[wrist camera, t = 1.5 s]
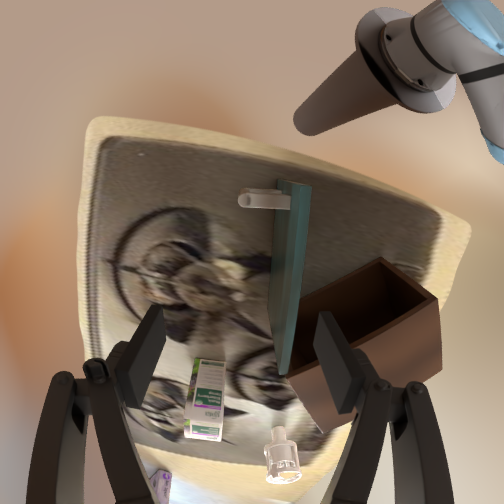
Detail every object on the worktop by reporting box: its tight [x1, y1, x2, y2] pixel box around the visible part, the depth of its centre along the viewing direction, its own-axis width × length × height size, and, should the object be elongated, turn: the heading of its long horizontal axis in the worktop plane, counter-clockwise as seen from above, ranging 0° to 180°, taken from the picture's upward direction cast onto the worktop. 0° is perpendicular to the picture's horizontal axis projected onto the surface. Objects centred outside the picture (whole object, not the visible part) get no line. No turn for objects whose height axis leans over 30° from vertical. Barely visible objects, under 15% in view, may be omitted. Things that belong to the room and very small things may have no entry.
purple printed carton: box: [150, 469, 172, 504], centre depth 54 cm, size 19×5×18 cm, turn 151°
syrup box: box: [183, 358, 226, 441], centre depth 40 cm, size 6×6×14 cm
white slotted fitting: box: [264, 426, 302, 484], centre depth 46 cm, size 7×7×15 cm
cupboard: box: [285, 257, 442, 433], centre depth 37 cm, size 14×20×16 cm
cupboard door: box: [238, 179, 312, 374], centre depth 33 cm, size 6×20×16 cm, turn 177°
